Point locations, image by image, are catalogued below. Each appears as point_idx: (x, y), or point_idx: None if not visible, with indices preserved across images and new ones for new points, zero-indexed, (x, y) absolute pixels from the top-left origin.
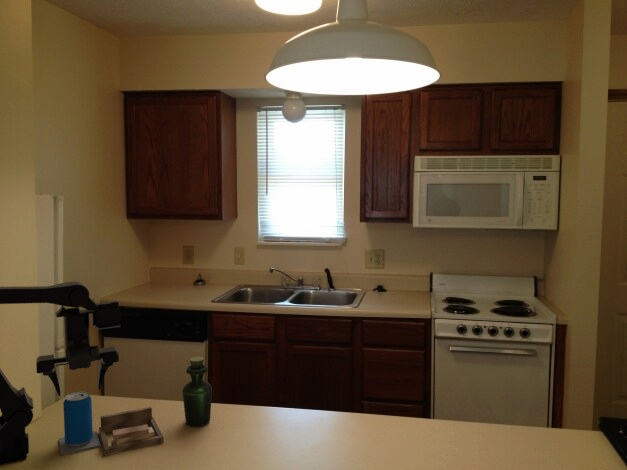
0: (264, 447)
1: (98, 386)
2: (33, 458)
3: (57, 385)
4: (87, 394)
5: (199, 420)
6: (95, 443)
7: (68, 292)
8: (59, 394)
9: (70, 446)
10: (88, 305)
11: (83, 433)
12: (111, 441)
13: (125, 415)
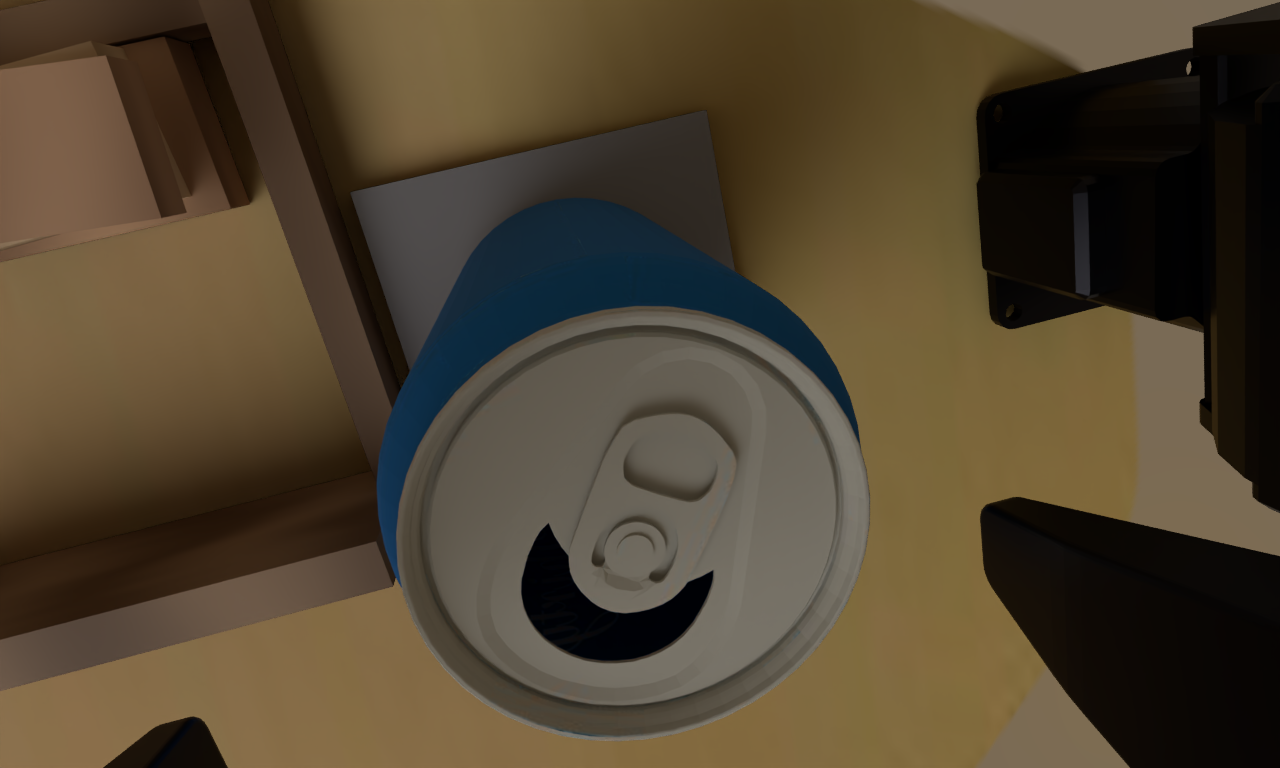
0: None
1: (153, 765)
2: (920, 123)
3: (1266, 590)
4: (454, 614)
5: None
6: (410, 242)
7: None
8: (1019, 508)
9: None
10: None
11: (511, 226)
12: (218, 174)
13: (112, 597)
